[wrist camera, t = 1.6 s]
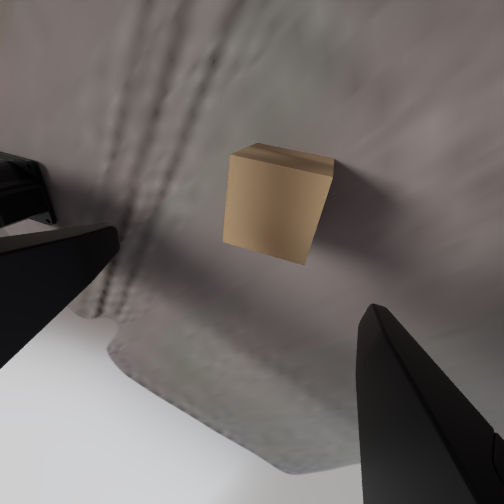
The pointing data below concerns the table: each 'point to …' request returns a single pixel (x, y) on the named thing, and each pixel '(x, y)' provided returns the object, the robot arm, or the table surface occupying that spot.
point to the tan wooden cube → (275, 200)
